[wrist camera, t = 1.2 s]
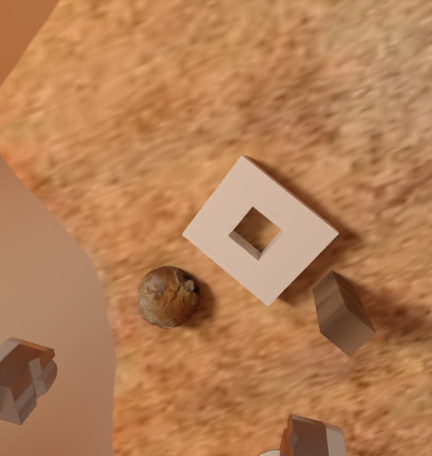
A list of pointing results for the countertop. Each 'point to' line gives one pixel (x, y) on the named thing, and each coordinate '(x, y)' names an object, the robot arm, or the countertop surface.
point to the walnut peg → (341, 314)
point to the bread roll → (167, 297)
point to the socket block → (277, 213)
